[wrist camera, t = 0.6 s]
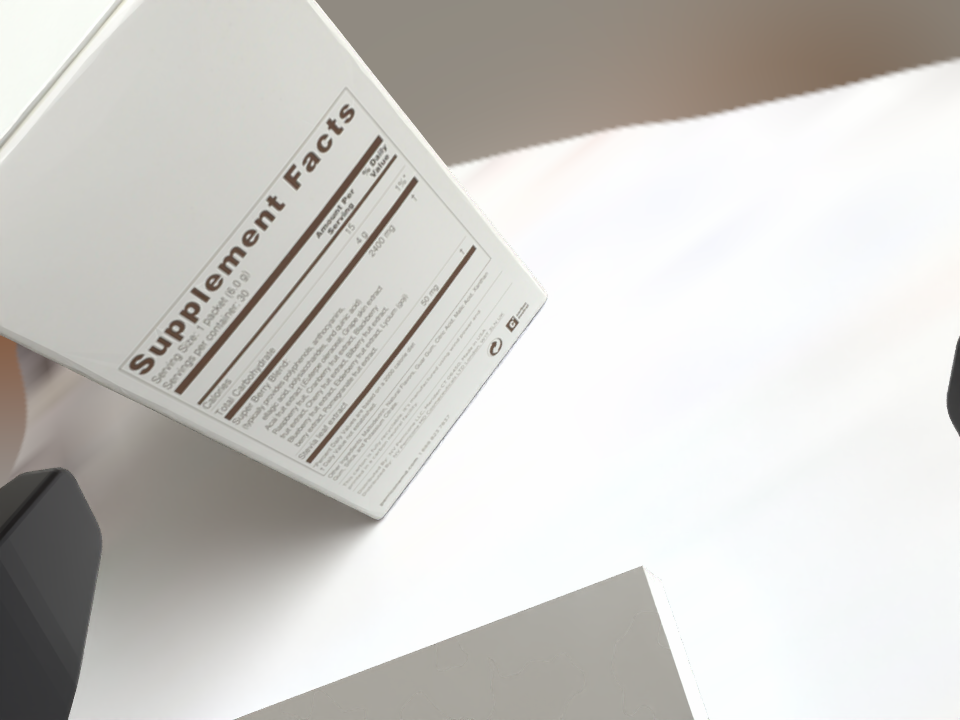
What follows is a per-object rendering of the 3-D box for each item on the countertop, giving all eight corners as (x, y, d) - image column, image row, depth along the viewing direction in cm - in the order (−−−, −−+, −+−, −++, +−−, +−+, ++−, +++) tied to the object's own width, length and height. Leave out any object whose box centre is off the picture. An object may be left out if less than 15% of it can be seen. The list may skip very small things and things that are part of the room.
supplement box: (234, 391, 31) (-220, 129, 19) (386, 199, 31) (38, -169, 20) (379, 533, 25) (-136, 288, 13) (560, 297, 26) (221, -136, 14)
